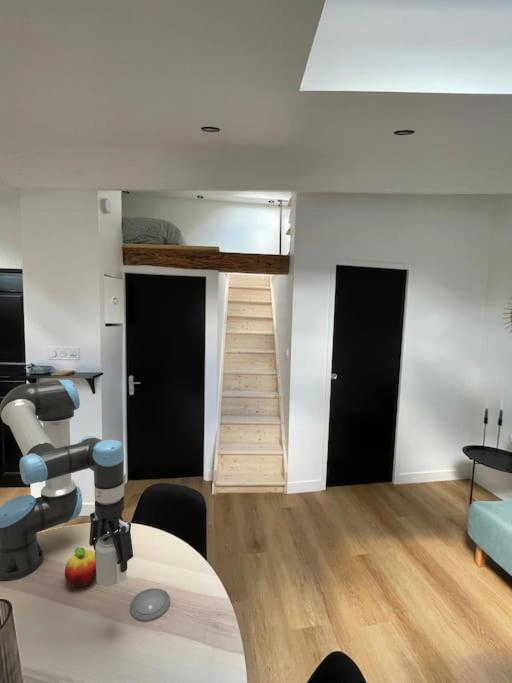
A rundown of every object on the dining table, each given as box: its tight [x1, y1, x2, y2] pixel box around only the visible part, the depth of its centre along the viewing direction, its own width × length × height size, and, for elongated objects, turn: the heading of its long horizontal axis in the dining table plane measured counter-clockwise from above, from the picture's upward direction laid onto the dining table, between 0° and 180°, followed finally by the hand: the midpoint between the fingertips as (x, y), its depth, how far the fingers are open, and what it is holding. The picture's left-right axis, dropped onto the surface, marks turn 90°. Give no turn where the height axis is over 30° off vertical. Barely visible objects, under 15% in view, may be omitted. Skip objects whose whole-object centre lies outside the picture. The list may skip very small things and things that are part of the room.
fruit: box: [64, 546, 96, 588], centre depth 126 cm, size 11×11×10 cm
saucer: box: [129, 587, 171, 622], centre depth 117 cm, size 12×12×1 cm
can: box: [95, 531, 118, 587], centre depth 105 cm, size 8×8×12 cm
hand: (111, 575), depth 105 cm, fingers closed on can, 7 cm apart
